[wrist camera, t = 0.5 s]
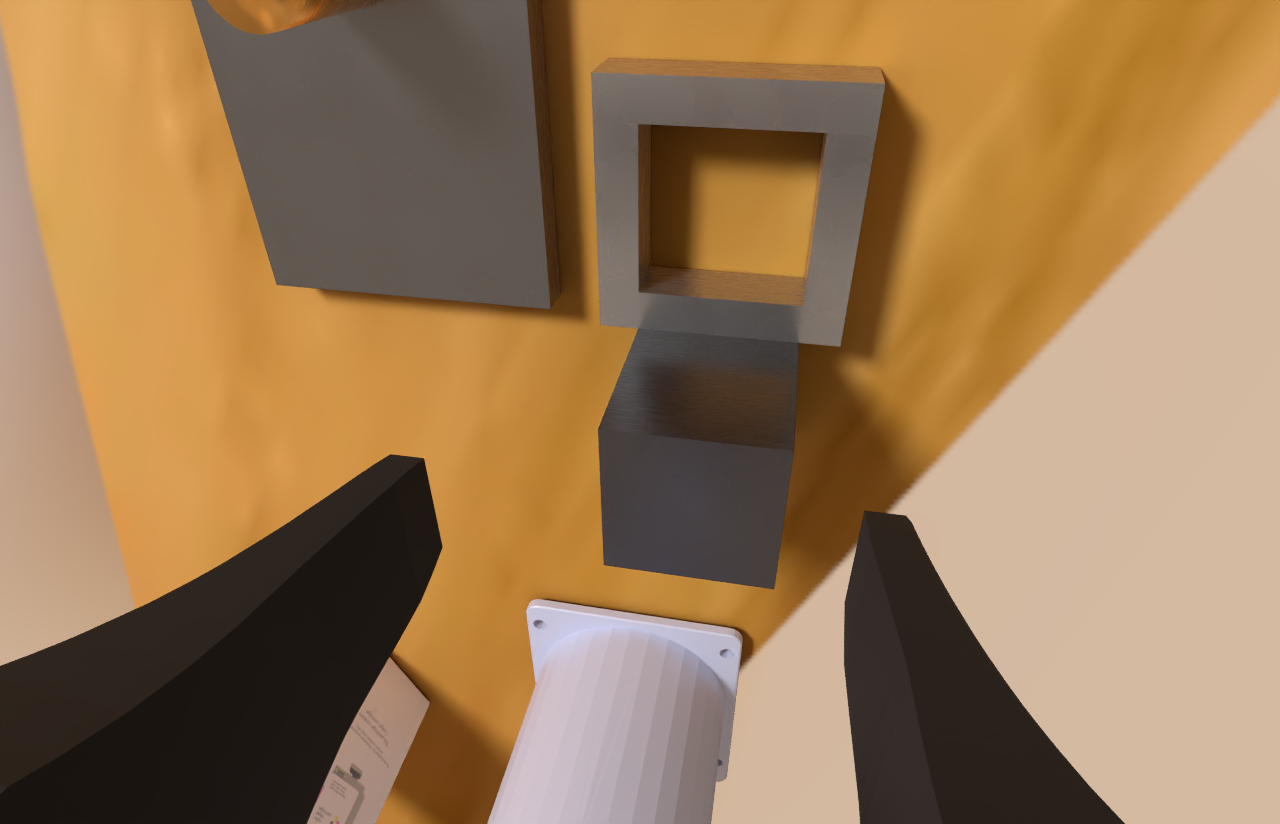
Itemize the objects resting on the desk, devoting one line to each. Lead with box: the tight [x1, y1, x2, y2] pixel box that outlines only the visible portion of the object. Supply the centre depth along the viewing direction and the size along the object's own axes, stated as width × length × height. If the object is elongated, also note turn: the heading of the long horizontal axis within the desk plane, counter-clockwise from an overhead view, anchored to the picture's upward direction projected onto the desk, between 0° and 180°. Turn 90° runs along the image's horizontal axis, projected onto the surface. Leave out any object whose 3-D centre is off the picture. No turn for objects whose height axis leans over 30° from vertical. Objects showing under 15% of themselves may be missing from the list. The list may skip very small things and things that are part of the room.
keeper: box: [191, 0, 561, 309], centre depth 17 cm, size 11×8×4 cm
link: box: [591, 58, 886, 589], centre depth 17 cm, size 10×6×6 cm, turn 0°
